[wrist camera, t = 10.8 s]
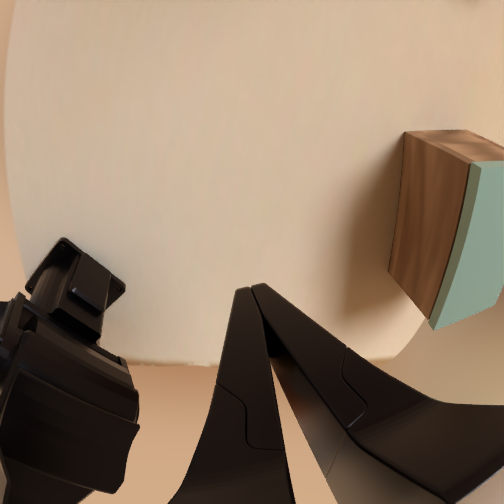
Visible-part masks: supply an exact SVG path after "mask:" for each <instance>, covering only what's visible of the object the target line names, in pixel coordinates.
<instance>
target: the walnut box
mask: <svg viewBox="0 0 504 504" xmlns="http://www.w3.org/2000/svg"><path fill="white" fill-rule="evenodd" d="M480 161H504V147H502V146H500V145H498V144H496V143H494V142H492V141H490V140H488V139H486V138H484V137H481V136H479V135H477V134H475V133H473V132H470V131H468V130H435V131H412V132H405V133H404V151H403V164H402V176H401V186H400V196H399V204H398V212H397V220H396V227H395V234H394V240H393V247H392V253H391V258H390V264H389V269H388V272H389V274H390V275H391V276H392V277H393V278H394V280H395V281H396V282H397V283H398V284H399V285H400V287H401V288H402V289H403V290H404V291H405V293H406V294H407V295H408V296H409V297H410V299H411V300H412V301H413V302H414V304H415V305H416V306H417V307H418V308H419V310H420V311H421V312H422V313H423V315H424V316H425V317H426V318H427V320H428V319H430V317H431V314H432V311H433V309H434V306H435V303H436V300H437V297H438V295H439V292H440V289H441V286H442V283H443V280H444V277H445V273H446V270H447V267H448V264H449V260H450V257H451V253H452V250H453V246H454V242H455V239H456V235H457V231H458V227H459V223H460V218H461V214H462V209H463V205H464V200H465V195H466V190H467V185H468V179H469V173H470V167H471V162H480Z"/></svg>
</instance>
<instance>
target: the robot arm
mask: <svg viewBox="0 0 504 504" xmlns="http://www.w3.org/2000/svg"><path fill="white" fill-rule="evenodd" d="M61 244H65V245H66V247H64V246H62V245H61ZM31 287H32V288H31ZM117 287H121V289H119V288H117ZM125 288H126V285H125V284H124V283H123V282H122V281H121V280H119V279H118V278H117V277H115V276H114V275H113V274H111V272H110V271H109V270H107V269H106V268H105V267H103V266H102V265H101V264H99V263H98V262H97V261H96V260H94V259H93V258H92V257H90V256H89V255H88V254H87V253H84V252H83V251H82V250H81V249H79V248H78V247H77V246H76V245H74V244H73V243H72V242H71V241H69V240H68V239H67V238H60V239H59V240H58V241H57V243H56V244H55V245H54V247H53V248H52V249H51V250H50V252H49V253H48V254H47V256H46V257H45V258H44V259H43V261H42V262H41V263H40V265H39V266H38V267H37V269H36V270H35V272H34V273H33V274H32V276H31V277H30V279H29V280H28V281H27V283H26V285H25V289H26V291H27V292H28V293H30V294H31V295H32V296H31V299H30V301H29V300H27V299H26V298H25V297H26V296H25V295H23V294H22V293H20V292H18V294H17V295H16V297H15V298H14V299H13V298H12V299H11V301H9V302H2V301H0V504H79V503H80V502H81V501H82V500H84V499H85V498H86V497H87V496H89V495H90V494H91V493H92V492H94V491H95V490H96V491H100V492H104V493H109V494H114V493H116V491H117V490H118V489H119V487H120V486H121V484H122V483H123V481H124V476H125V469H126V462H127V457H128V453H129V450H130V447H131V444H132V441H133V440H134V437H135V436H136V434H137V432H138V431H139V429H140V425H139V424H137V420H138V417H139V393H138V391H137V390H136V389H135V388H134V385H133V382H132V378H131V375H130V373H129V370H128V366H127V363H126V360H125V359H123V358H121V357H120V356H118V357H117V356H115V355H113V354H111V353H110V352H108V351H106V350H104V349H103V348H101V347H99V342H100V337H101V332H102V325H103V318H104V312H105V310H106V309H107V308H108V307H109V306H110V305H111V304H112V303H113V302H115V301H116V300H117V299H118V298H119V297H120V296H121V295H122V294H123V293H124V292H125ZM270 363H271V364H270ZM271 365H272V367H273V369H274V372H275V374H276V376H277V378H278V380H279V382H280V385H281V387H282V389H283V391H284V393H285V395H286V397H287V400H288V402H289V404H290V406H291V408H292V410H293V412H294V415H295V417H296V419H297V421H298V423H299V425H300V427H301V429H302V431H303V433H304V436H305V438H306V440H307V442H308V444H309V446H310V448H311V450H312V452H313V454H314V456H315V458H316V460H317V462H318V464H319V467H320V468H321V471H322V472H323V475H324V477H325V478H326V481H327V483H328V485H329V487H330V489H331V491H332V493H333V495H334V497H335V499H336V501H337V503H338V504H504V405H472V404H454V403H446V402H441V401H438V400H435V399H433V398H430V397H428V396H426V395H424V394H422V393H421V392H419V391H417V390H415V389H413V388H412V387H410V386H408V385H406V384H404V383H403V382H401V381H399V380H397V379H396V378H394V377H392V376H390V375H389V374H387V373H385V372H384V371H382V370H380V369H379V368H377V367H376V366H374V365H372V364H371V363H370V362H368V361H367V360H365V359H364V358H362V357H361V356H360V355H358V354H357V353H356V352H354V351H353V350H352V349H350V348H349V347H347V346H346V345H345V344H344V343H342V342H341V341H340V340H338V339H337V338H336V337H334V336H333V335H332V334H330V333H329V332H328V331H327V330H325V329H324V328H323V327H321V326H320V325H319V324H317V323H316V322H315V321H313V320H312V319H311V318H310V317H308V316H307V315H306V314H304V313H303V312H302V311H300V310H299V309H298V308H297V307H295V306H294V305H293V304H291V303H290V302H289V301H288V300H286V299H285V298H284V297H282V296H281V295H280V294H278V293H277V292H276V291H275V290H273V289H272V288H271V287H269V286H268V285H267V284H266V283H260V284H256V285H252V286H251V288H250V287H244V288H239V289H237V290H236V291H235V295H234V299H233V304H232V308H231V313H230V318H229V322H228V327H227V332H226V336H225V341H224V346H223V351H222V355H221V360H220V365H219V369H218V374H217V379H216V385H215V388H214V393H213V398H212V401H211V405H210V409H209V413H208V416H207V419H206V422H205V425H204V428H203V431H202V434H201V437H200V440H199V442H198V445H197V447H196V450H195V453H194V455H193V458H192V461H191V463H190V466H189V468H188V471H187V473H186V476H185V478H184V480H183V482H182V484H181V486H180V488H179V489H178V491H177V492H176V494H175V495H174V496H173V498H172V499H171V500H170V501H169V502H168V504H296V502H295V498H294V493H293V488H292V483H291V478H290V473H289V468H288V463H287V457H286V452H285V445H284V440H283V434H282V428H281V422H280V416H279V410H278V405H277V399H276V393H275V388H274V382H273V376H272V370H271Z"/></svg>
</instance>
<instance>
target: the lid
mask: <svg viewBox="0 0 504 504" xmlns="http://www.w3.org/2000/svg"><path fill="white" fill-rule="evenodd" d="M503 285H504V161H480V162H471V167H470V173H469V179H468V185H467V190H466V195H465V200H464V205H463V209H462V214H461V218H460V223H459V227H458V231H457V235H456V239H455V242H454V246H453V250H452V253H451V257H450V260H449V264H448V267H447V270H446V273H445V277H444V280H443V283H442V286H441V289H440V292H439V295H438V297H437V300H436V303H435V306H434V309H433V311H432V314H431V317H430V319H429V322H428V323H429V325H430V326H431V328H432V329H433V331H435V330H437V329H440V328H442V327H445V326H447V325H450V324H452V323H455V322H457V321H460V320H462V319H464V318H467V317H469V316H471V315H474V314H476V313H478V312H481V311H483V310H485V309H487V308H489V307H491V306H494V305H495V303H496V301H497V299H498V296H499V294H500V292H501V290H502V288H503Z"/></svg>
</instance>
